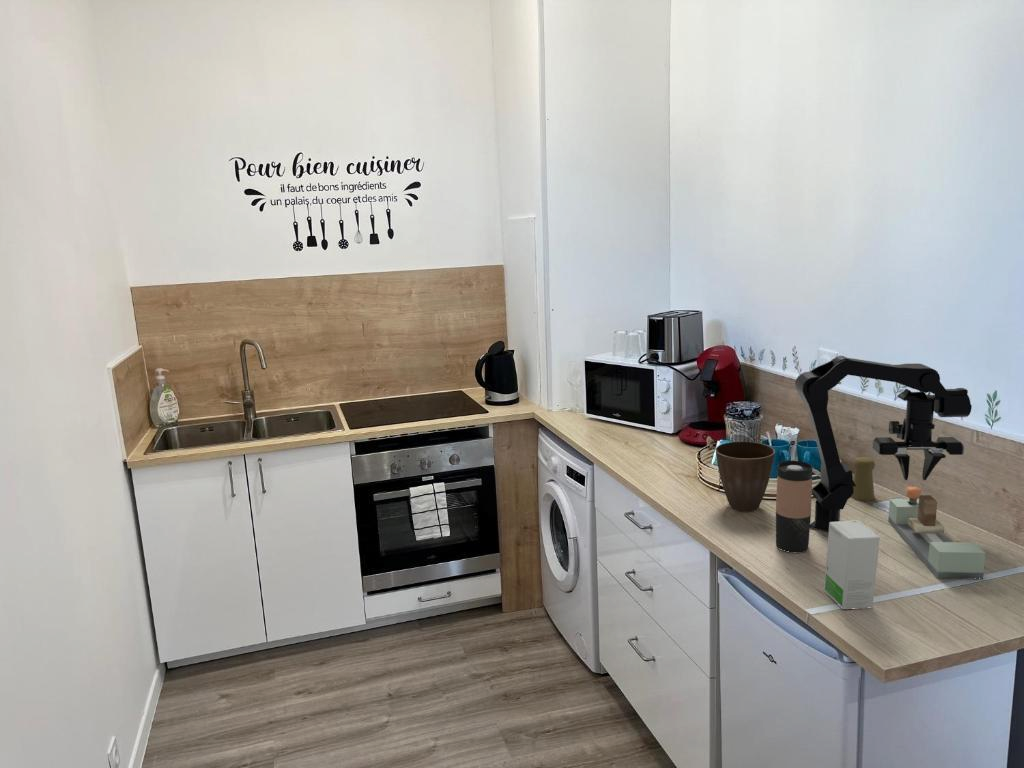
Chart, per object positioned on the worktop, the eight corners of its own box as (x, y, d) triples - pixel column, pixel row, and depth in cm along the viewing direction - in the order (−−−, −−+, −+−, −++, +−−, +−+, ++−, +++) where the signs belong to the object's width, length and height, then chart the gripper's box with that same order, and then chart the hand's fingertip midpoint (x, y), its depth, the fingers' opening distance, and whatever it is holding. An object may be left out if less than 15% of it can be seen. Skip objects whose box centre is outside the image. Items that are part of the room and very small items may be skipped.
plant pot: (743, 522, 193) (744, 462, 189) (703, 504, 206) (703, 447, 202) (785, 509, 200) (787, 451, 196) (744, 492, 213) (745, 438, 209)
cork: (877, 501, 202) (879, 462, 200) (852, 500, 203) (855, 461, 201) (871, 493, 208) (873, 454, 206) (847, 492, 209) (849, 454, 207)
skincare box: (823, 591, 157) (826, 521, 154) (853, 588, 158) (857, 518, 154) (843, 611, 149) (848, 538, 145) (876, 609, 149) (881, 535, 146)
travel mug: (808, 541, 180) (812, 461, 176) (810, 555, 173) (813, 472, 169) (774, 538, 183) (777, 459, 178) (774, 551, 176) (777, 469, 171)
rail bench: (983, 579, 159) (985, 552, 158) (937, 578, 160) (939, 552, 159) (926, 522, 188) (928, 499, 187) (888, 521, 189) (889, 499, 188)
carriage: (944, 533, 174) (946, 502, 173) (916, 532, 175) (918, 502, 173) (935, 524, 179) (937, 494, 177) (908, 524, 180) (910, 494, 178)
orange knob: (922, 506, 183) (923, 491, 182) (908, 506, 184) (909, 491, 183) (917, 501, 186) (918, 486, 185) (903, 501, 187) (904, 486, 186)
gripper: (947, 408, 186) (942, 468, 190) (867, 409, 189) (863, 468, 193) (967, 420, 176) (961, 484, 179) (882, 421, 178) (878, 484, 182)
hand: (914, 479), depth 183 cm, fingers open, 4 cm apart
